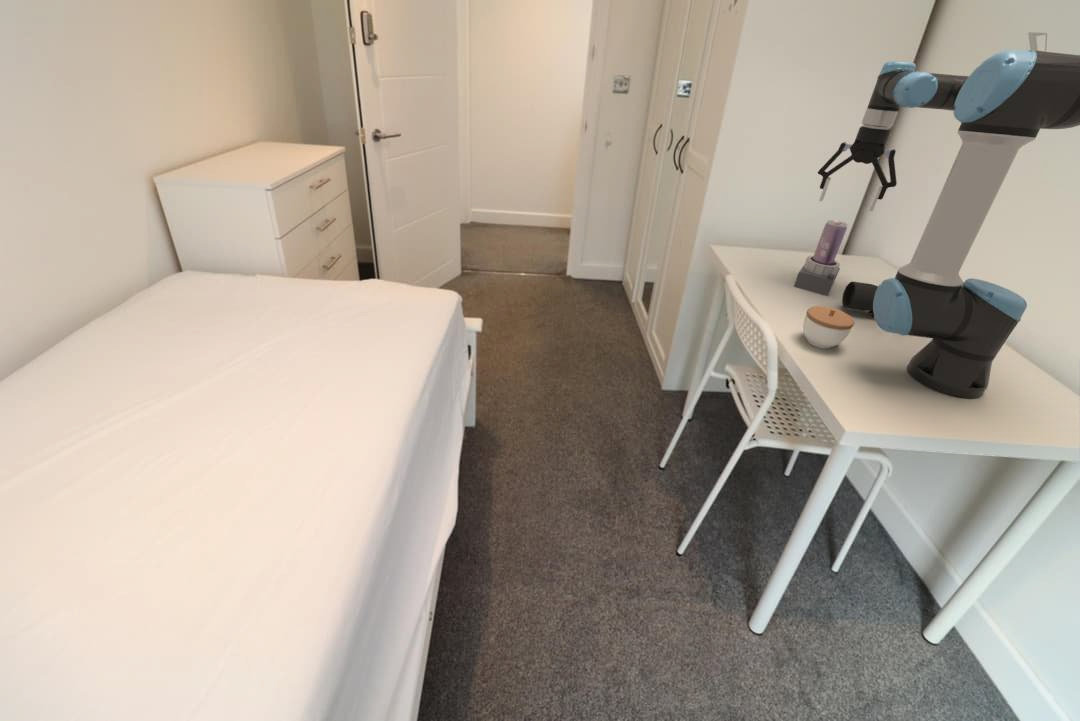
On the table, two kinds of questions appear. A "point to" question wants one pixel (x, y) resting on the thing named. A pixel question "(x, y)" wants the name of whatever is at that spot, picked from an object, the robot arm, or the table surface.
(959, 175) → the robot arm
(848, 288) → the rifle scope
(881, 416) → the table surface
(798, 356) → the table surface
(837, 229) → the beverage can
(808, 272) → the grey socket block
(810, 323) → the lidded jar
